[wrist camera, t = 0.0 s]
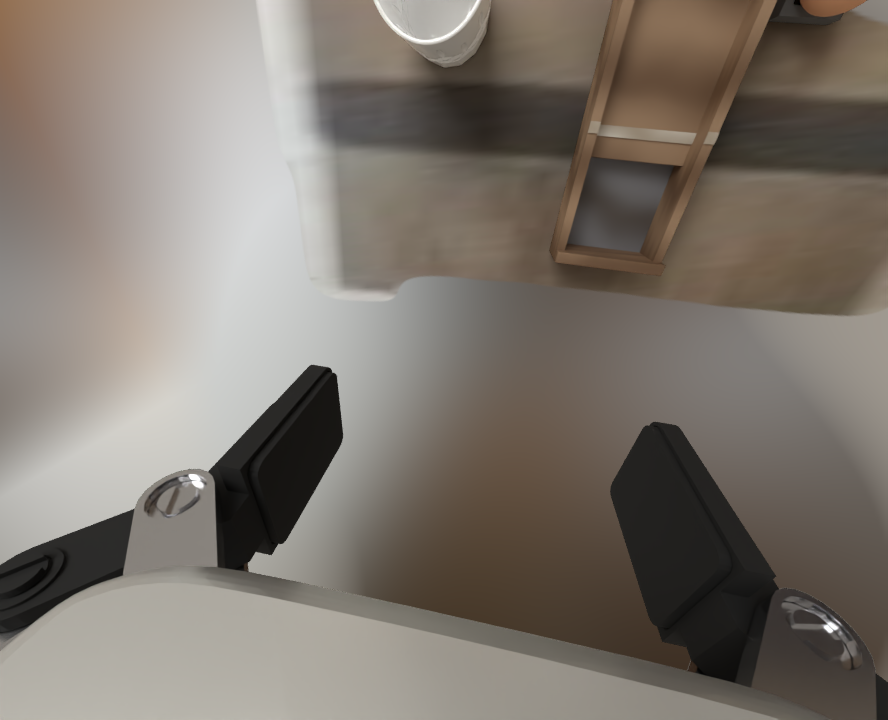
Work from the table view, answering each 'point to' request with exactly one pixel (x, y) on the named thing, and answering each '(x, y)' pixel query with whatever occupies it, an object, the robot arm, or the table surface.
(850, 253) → the table surface
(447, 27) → the white cup
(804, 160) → the table surface
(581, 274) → the table surface
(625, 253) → the lane
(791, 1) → the grey square frame
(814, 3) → the ball
